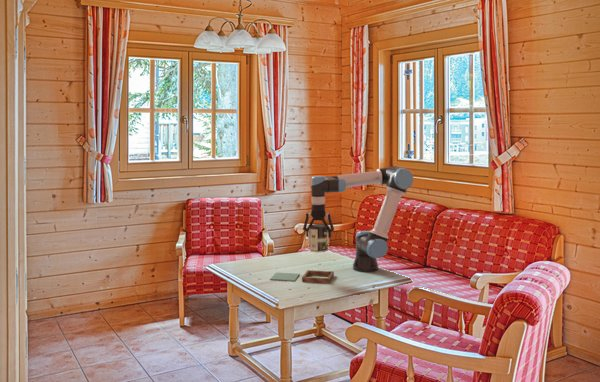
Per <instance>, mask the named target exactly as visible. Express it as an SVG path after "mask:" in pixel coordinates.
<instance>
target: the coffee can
mask: <svg viewBox="0 0 600 382" xmlns="http://www.w3.org/2000/svg"><path fill="white" fill-rule="evenodd" d="M308 226H309V225H308ZM309 228H310V229H309V231H310V243H309V252H312V253H326V252H328V250H329V249H328V244H327V232H328V230H327V226H325V225H324V223H323V224H320V223H318V224H317V223H316V224H312V226H309Z"/></svg>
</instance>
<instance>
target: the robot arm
mask: <svg viewBox="0 0 600 382" xmlns="http://www.w3.org/2000/svg"><path fill="white" fill-rule="evenodd" d="M310 179H311V180H310V181H311V183H310V186H311V187H310V188H311V189H310V190H311V199H310V200H311V212H306V213H305V220H304V224H303V228H302V230H303V231H305V236H306V238H307V242H308V244H310V228H309V226H312V225H314V224H313V223H314V222H315V221H321V222H322V223H323V224H324V225H325V226H327V244H330V238H331V237H332V232H333V231H334V230H335V228H334V224H333V220H332V213H331V212H329V213H326V204H325V203H326V194H328V193H344V192H345V191H346V190H347V188H352V187H358V186H359V187H360V186H369V185H378V186H383V185H385V186H386V189H387V190H386V194H385V196H384V198H383V202H382V204H381V208H380V210H379V213H378V215H377V217H376V220H375V223H374V226H373V228H372V229H370V230H360V231H359V230H358V231H356V233H355V234H356V235H355V257H354V260H353V261H354V262H353V263H352V270H354V271H355V272H356V271H357V272H362V273H363V272H366V273H367V272H368V273H369V272H370V273H371V272H376V271H378V270H379V263H378V261H377V259H380V258H383V257H384V256H386V254H387V252H388V250H389V245H388V240H389V236H388V233H389V231H390V228H391V225H392V222H393V219H394V217H395V214H396V212H397V209H398V206H399V204H400V201H401V198H402V196H404V195H405V194H406V193H407V190H408V189H410V188H411V187H412V186H413V183H414V175H413V173H412V172H411V170H410V169H408V168H406V167H401V166H395V165H393V166H387V167H383V168H382V167H381V168H377V169H376V170H373V171H365V172H363V171H362V172H356V173H348V174H346V173H345V174H339V175H333V176H332V175H331V176H330V175H326V176H324V175H313V176H311V178H310ZM310 216H311V217H312V219H311V221H310V222H309V218H310ZM325 217H326V218H327V219H328V223H329V224H328V223H327V221H326V218H325ZM308 222H309V224H308Z"/></svg>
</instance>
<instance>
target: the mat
mask: <svg viewBox="0 0 600 382" xmlns="http://www.w3.org/2000/svg"><path fill="white" fill-rule="evenodd" d="M300 275H301V274H300V273H295V272H294V273H293V272H290V273H289V272H275V273H274V274H273V275H272V276H271V277H270V278H269V281H278V282H279V281H283V282H295V281H296V280H297V279H298V277H299V276H300Z"/></svg>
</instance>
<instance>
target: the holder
mask: <svg viewBox="0 0 600 382" xmlns="http://www.w3.org/2000/svg"><path fill="white" fill-rule="evenodd" d="M334 274H335V272H334V271H331V270H330V271H329V270H309V269H307V270H306V271H305V273H304V274H303V276H302V277H301V282H302V283H317V284H330V283H331V282H332V280H333V278H334V277H335V275H334ZM313 276H315V277H313ZM316 276H318V277H316ZM319 276H321V277H319Z"/></svg>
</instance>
